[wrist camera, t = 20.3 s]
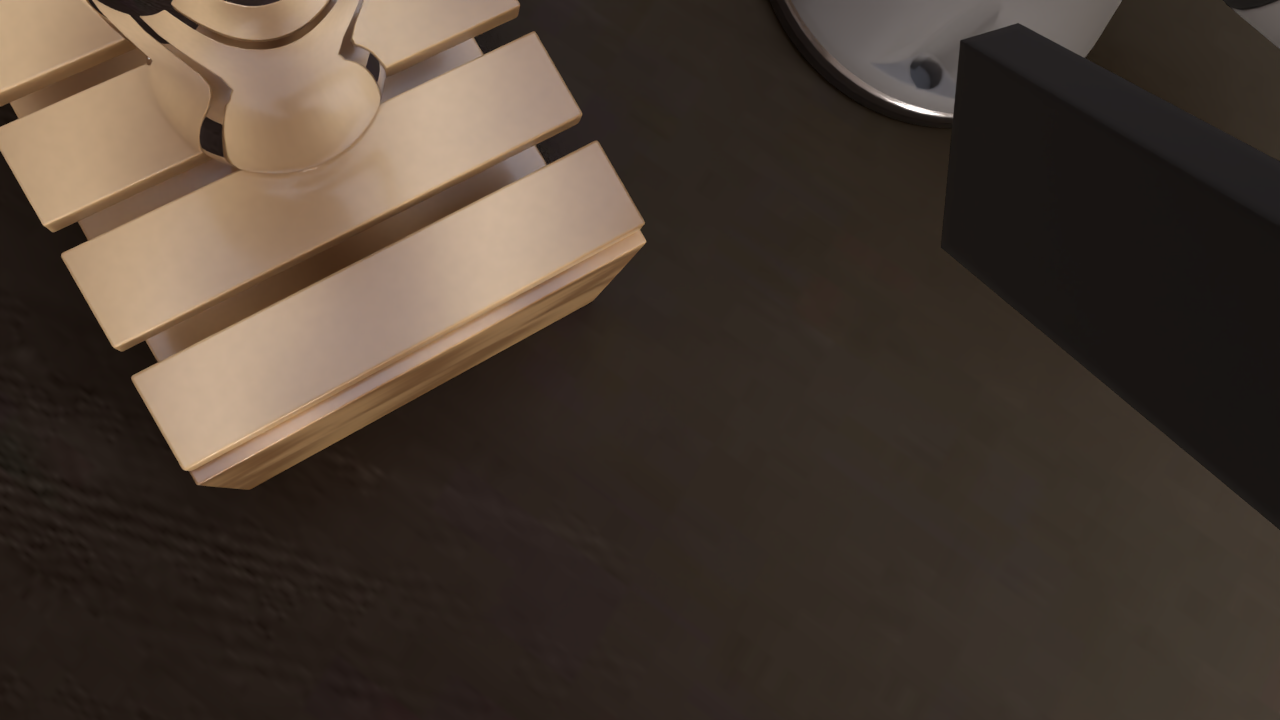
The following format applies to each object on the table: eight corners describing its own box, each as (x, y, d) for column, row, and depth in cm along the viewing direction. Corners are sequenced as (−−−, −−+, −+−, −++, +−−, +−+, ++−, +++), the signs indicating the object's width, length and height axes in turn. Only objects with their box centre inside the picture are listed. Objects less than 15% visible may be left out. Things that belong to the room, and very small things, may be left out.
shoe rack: (356, -112, 41) (340, -309, 31) (594, 300, 41) (653, 235, 31) (-10, 39, 38) (-159, -128, 28) (248, 490, 37) (190, 485, 27)
